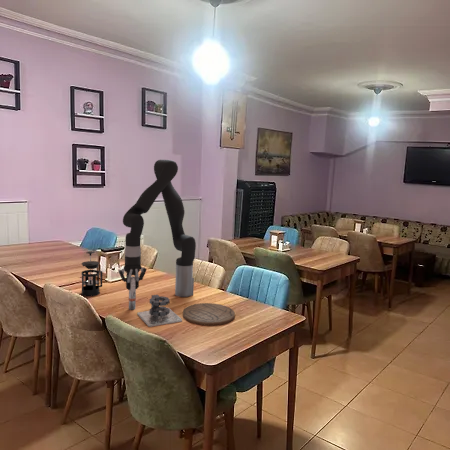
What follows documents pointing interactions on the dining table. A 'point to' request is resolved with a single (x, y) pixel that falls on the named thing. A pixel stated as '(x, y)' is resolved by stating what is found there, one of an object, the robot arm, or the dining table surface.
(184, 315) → the trivet
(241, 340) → the dining table surface
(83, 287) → the french press
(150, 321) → the collar stand
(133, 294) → the tube
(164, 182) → the robot arm
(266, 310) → the dining table surface
